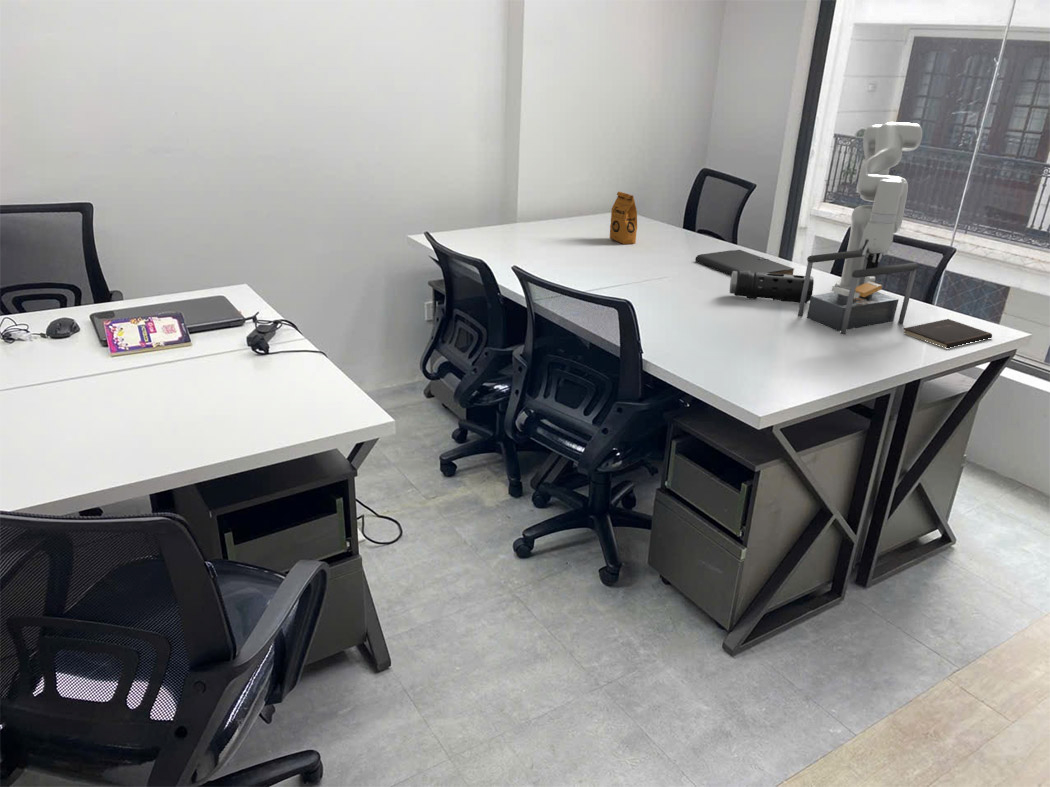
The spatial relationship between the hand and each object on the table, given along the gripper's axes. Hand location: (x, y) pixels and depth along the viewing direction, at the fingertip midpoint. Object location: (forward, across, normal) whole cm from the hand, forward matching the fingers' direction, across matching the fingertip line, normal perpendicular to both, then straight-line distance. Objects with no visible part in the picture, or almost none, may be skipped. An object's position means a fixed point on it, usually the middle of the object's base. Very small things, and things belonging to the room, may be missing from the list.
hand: (870, 272), depth 259 cm
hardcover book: (+17, -13, +24) cm, 32 cm away
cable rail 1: (+16, +5, -10) cm, 19 cm away
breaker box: (+16, +5, 0) cm, 17 cm away
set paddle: (+6, +10, 0) cm, 12 cm away
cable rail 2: (+16, +5, +10) cm, 19 cm away
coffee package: (+16, +18, -122) cm, 125 cm away
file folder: (+17, -4, -65) cm, 67 cm away
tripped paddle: (+6, 0, 0) cm, 6 cm away
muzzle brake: (+16, +16, -28) cm, 36 cm away
